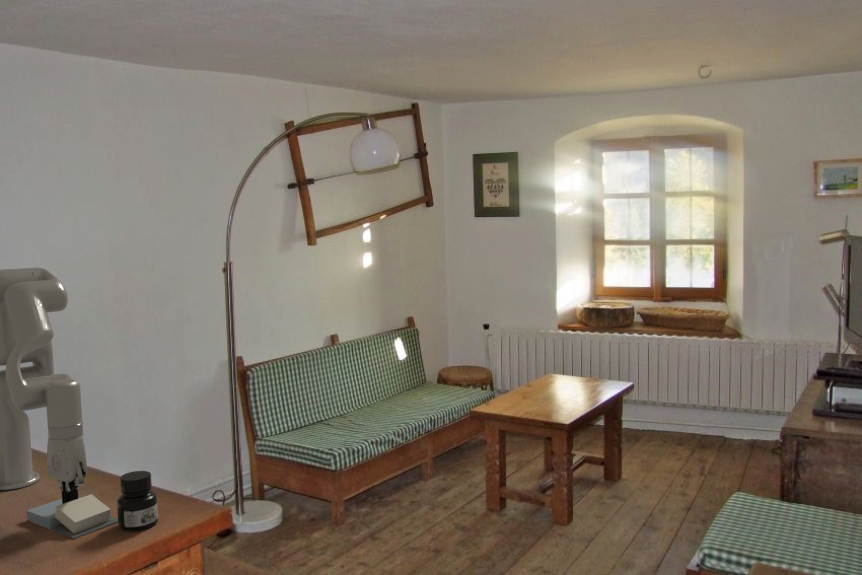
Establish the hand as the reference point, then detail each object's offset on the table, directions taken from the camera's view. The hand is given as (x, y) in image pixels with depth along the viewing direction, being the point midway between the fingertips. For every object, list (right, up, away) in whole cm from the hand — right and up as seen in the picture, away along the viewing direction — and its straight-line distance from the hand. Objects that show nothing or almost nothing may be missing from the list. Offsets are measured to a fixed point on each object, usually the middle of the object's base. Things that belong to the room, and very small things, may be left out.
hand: (70, 505), depth 186 cm
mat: (+5, -4, -3) cm, 7 cm away
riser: (-3, -4, +3) cm, 5 cm away
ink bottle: (+17, -4, -3) cm, 18 cm away
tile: (+4, -1, -3) cm, 5 cm away
